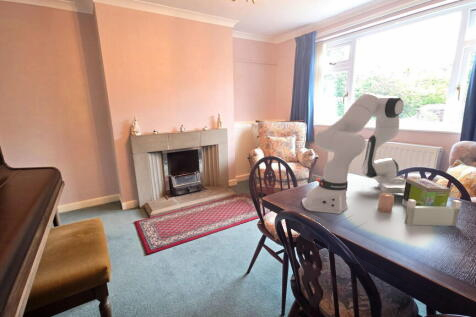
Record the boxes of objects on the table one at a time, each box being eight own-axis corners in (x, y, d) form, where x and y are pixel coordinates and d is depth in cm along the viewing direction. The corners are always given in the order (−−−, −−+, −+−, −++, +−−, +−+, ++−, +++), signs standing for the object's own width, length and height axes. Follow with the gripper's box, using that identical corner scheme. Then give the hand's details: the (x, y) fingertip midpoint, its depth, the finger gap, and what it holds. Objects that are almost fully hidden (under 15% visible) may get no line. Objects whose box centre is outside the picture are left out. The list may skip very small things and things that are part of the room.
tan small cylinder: (381, 212, 110) (383, 197, 108) (375, 207, 116) (377, 192, 114) (394, 213, 110) (397, 197, 108) (387, 207, 116) (389, 192, 114)
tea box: (444, 219, 104) (451, 188, 100) (421, 218, 104) (427, 188, 101) (421, 204, 118) (426, 177, 115) (401, 204, 119) (405, 177, 115)
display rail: (407, 224, 99) (411, 201, 97) (404, 222, 101) (408, 199, 99) (456, 225, 98) (461, 202, 95) (452, 223, 100) (457, 200, 97)
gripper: (376, 179, 130) (390, 187, 117) (414, 179, 129) (432, 188, 116) (375, 189, 132) (389, 199, 119) (412, 190, 131) (430, 200, 117)
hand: (411, 194), depth 117 cm, fingers closed
